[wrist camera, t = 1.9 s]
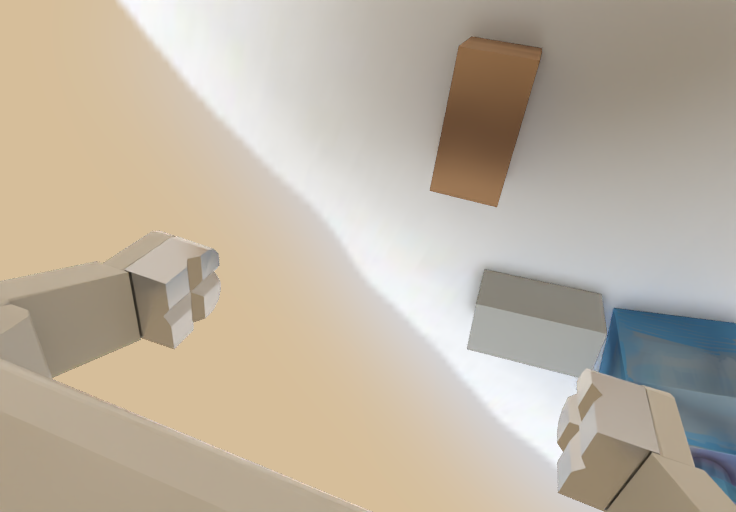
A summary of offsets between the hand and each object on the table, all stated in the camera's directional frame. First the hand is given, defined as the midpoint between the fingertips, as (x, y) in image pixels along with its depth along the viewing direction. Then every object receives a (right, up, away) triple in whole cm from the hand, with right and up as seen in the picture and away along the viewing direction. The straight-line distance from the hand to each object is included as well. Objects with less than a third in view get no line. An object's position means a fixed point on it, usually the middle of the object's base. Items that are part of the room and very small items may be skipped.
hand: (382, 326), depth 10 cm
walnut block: (+6, +9, +15) cm, 19 cm away
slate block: (+10, -1, +20) cm, 23 cm away
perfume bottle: (+18, -5, +19) cm, 27 cm away
